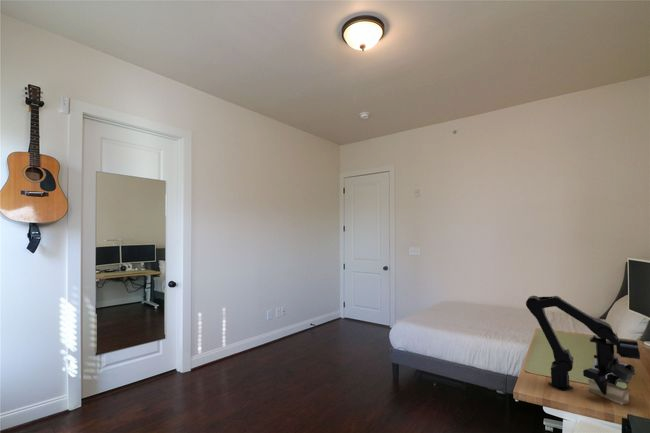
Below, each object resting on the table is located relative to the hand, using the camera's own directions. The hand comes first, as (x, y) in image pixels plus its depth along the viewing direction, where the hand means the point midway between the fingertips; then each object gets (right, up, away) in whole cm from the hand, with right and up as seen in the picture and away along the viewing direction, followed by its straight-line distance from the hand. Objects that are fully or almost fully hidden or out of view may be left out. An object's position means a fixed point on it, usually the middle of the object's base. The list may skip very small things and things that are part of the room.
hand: (608, 393), depth 135 cm
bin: (+18, -2, +20) cm, 27 cm away
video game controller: (+31, -2, +33) cm, 46 cm away
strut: (0, -1, 0) cm, 1 cm away
